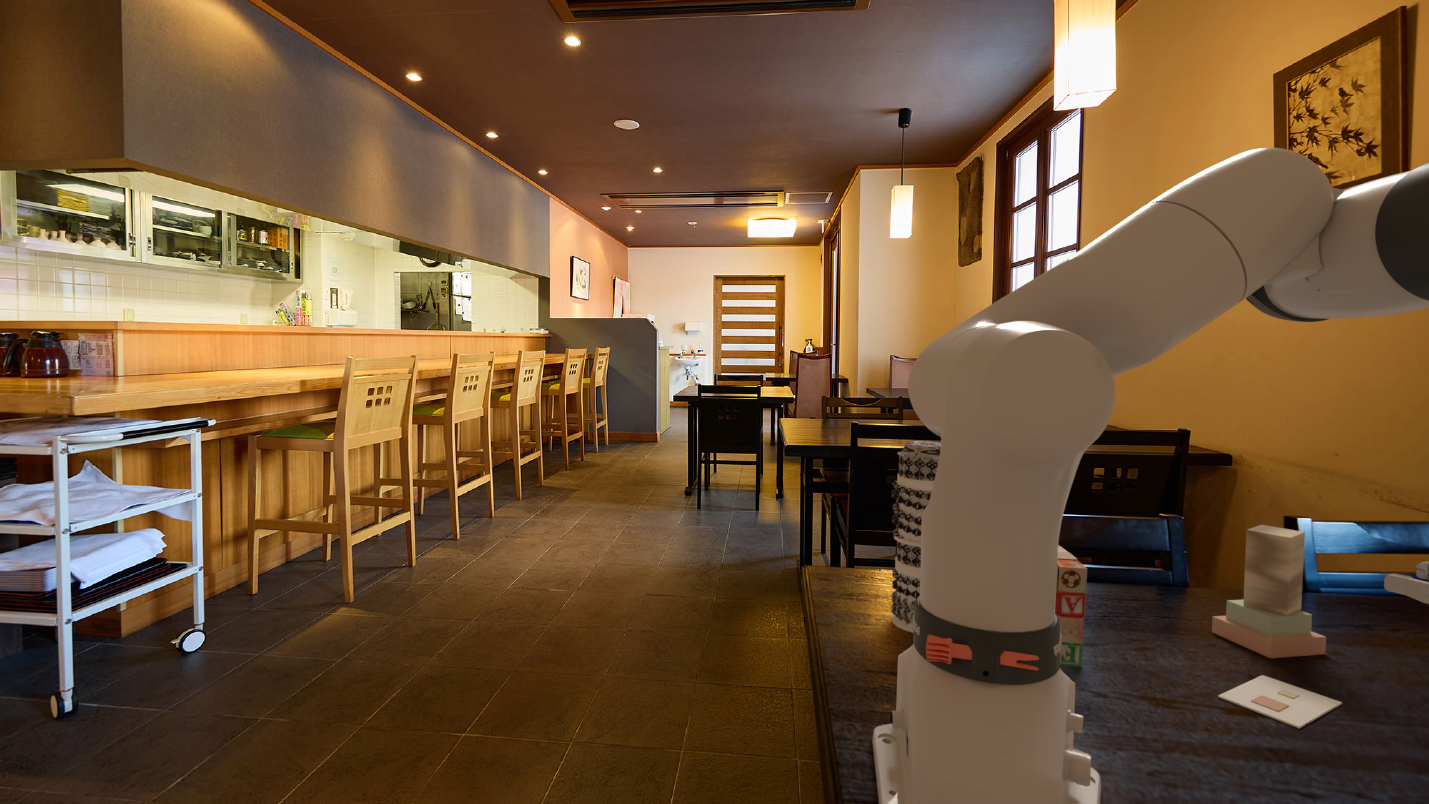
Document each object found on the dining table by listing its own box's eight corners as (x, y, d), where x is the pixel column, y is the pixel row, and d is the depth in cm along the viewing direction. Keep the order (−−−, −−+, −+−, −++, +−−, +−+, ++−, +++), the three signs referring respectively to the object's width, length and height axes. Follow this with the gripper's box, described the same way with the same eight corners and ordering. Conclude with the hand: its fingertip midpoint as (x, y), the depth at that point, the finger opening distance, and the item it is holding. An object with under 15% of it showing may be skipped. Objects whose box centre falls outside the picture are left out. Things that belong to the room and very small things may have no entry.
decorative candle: (875, 615, 94) (879, 440, 93) (929, 607, 98) (934, 438, 96) (914, 640, 86) (919, 448, 84) (973, 631, 89) (978, 445, 87)
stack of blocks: (987, 601, 101) (989, 521, 100) (1031, 604, 99) (1034, 523, 99) (1027, 664, 80) (1030, 563, 79) (1084, 669, 78) (1088, 566, 78)
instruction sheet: (1299, 728, 65) (1299, 725, 65) (1218, 697, 72) (1218, 694, 72) (1341, 704, 70) (1342, 701, 70) (1262, 676, 76) (1262, 674, 76)
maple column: (1301, 608, 85) (1304, 532, 84) (1286, 616, 82) (1290, 537, 82) (1258, 598, 89) (1261, 524, 88) (1243, 605, 86) (1246, 529, 85)
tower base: (1325, 656, 83) (1327, 617, 82) (1270, 660, 81) (1272, 620, 81) (1262, 631, 91) (1264, 595, 90) (1211, 634, 89) (1213, 598, 89)
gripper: (1633, 568, 67) (1437, 536, 79) (1583, 600, 57) (1369, 559, 70) (1627, 628, 68) (1433, 588, 80) (1577, 671, 58) (1365, 618, 70)
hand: (1402, 574), depth 75 cm, fingers open, 8 cm apart
